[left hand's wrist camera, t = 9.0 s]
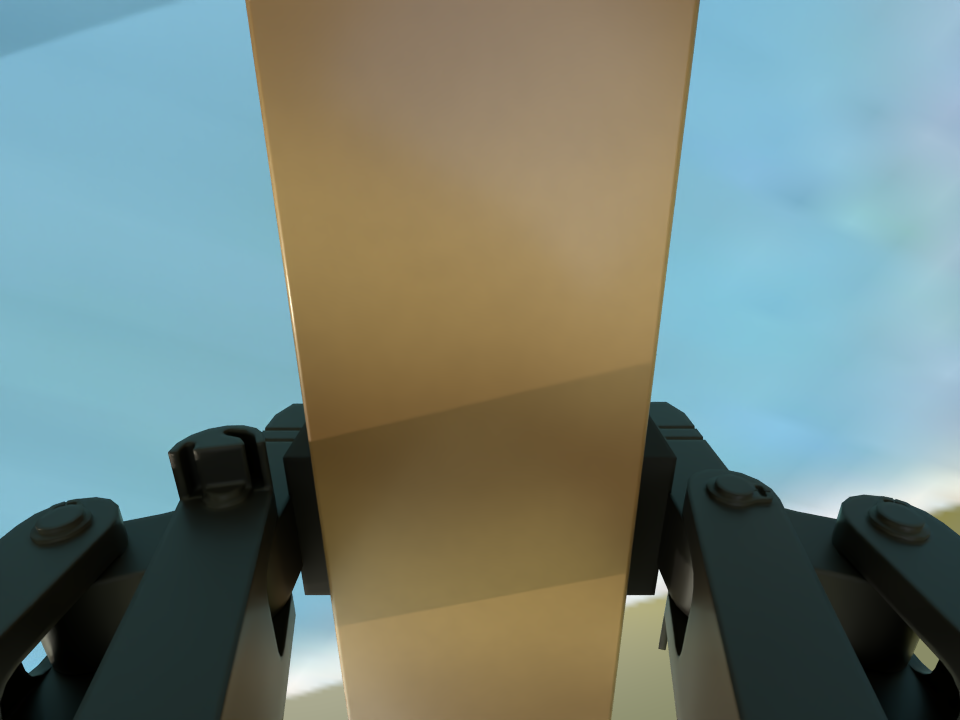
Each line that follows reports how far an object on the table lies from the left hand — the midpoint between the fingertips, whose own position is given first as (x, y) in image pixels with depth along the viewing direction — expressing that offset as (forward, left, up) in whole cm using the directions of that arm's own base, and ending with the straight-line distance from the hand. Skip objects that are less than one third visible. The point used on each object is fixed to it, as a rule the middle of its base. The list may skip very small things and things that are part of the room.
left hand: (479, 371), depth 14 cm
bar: (+27, +6, -1) cm, 28 cm away
